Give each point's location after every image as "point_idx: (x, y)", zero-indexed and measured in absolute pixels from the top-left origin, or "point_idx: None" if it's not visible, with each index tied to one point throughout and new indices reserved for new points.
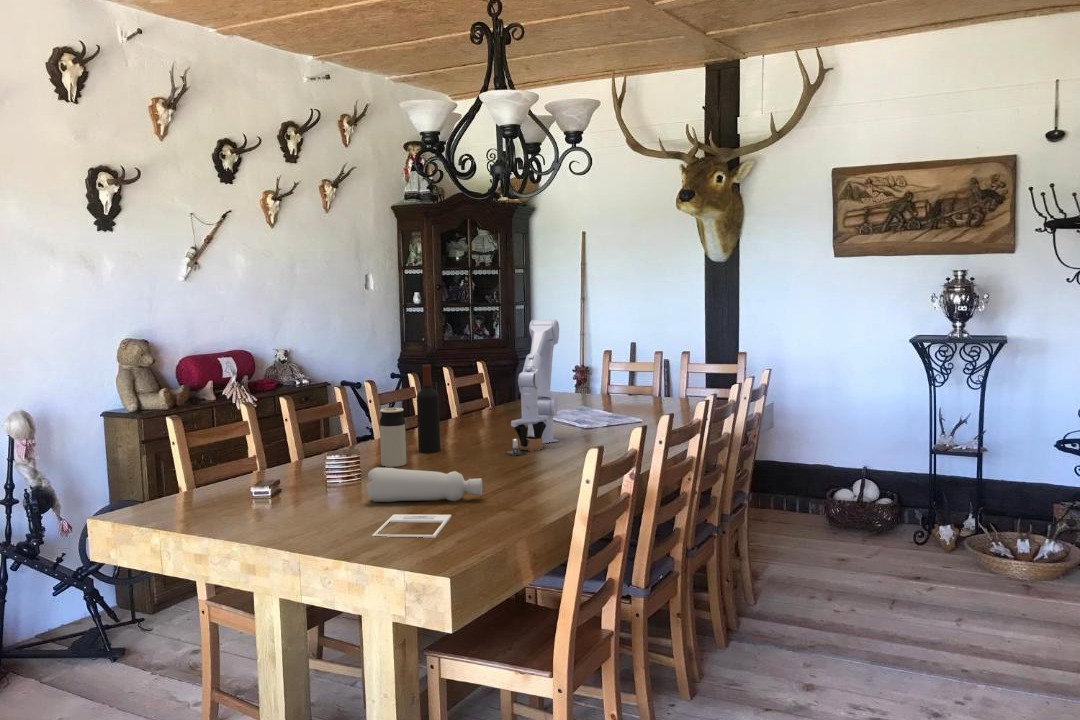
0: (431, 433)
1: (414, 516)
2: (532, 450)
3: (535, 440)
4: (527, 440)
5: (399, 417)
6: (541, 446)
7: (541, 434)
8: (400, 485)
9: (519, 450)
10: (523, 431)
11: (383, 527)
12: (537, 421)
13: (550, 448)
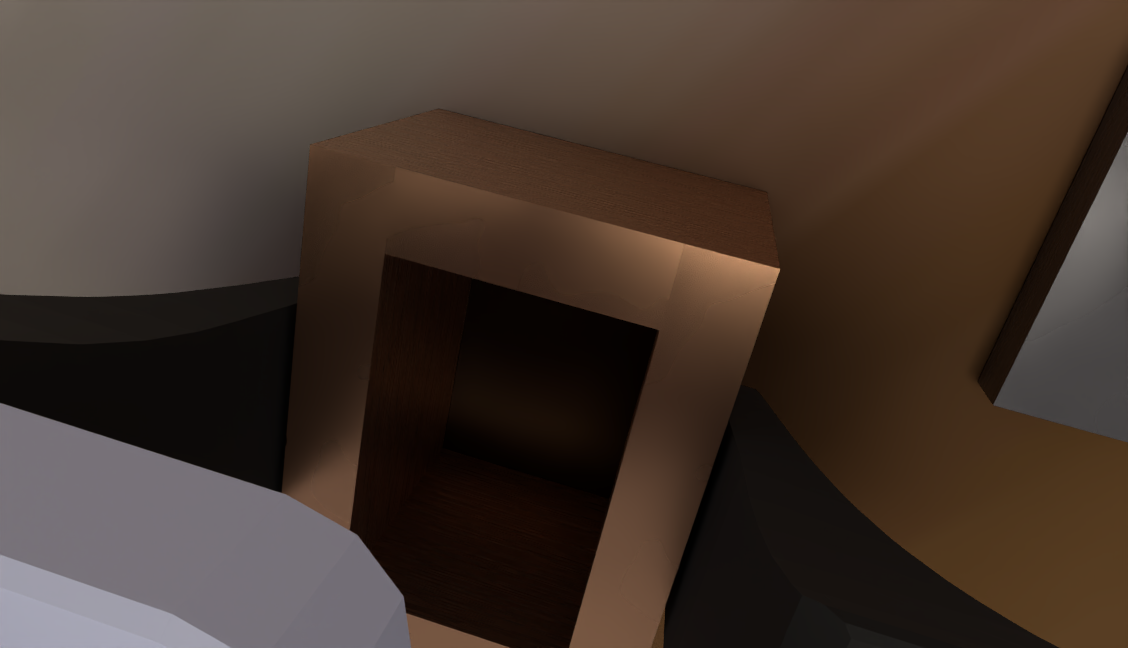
0: None
1: None
2: (707, 182)
3: (576, 206)
4: (731, 389)
5: None
6: (443, 125)
7: (175, 302)
8: None
9: (1031, 331)
10: (989, 621)
11: None
12: (28, 433)
13: (240, 69)
